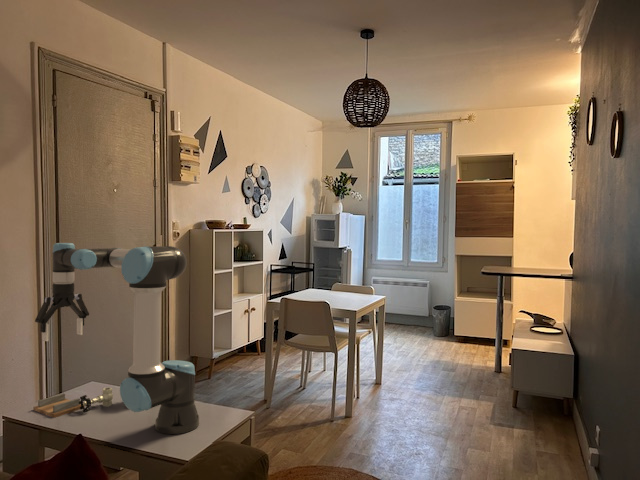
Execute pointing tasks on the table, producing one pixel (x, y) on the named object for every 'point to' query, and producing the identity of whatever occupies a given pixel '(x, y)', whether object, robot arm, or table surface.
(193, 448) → the table surface
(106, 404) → the valve
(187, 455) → the table surface
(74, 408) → the board
